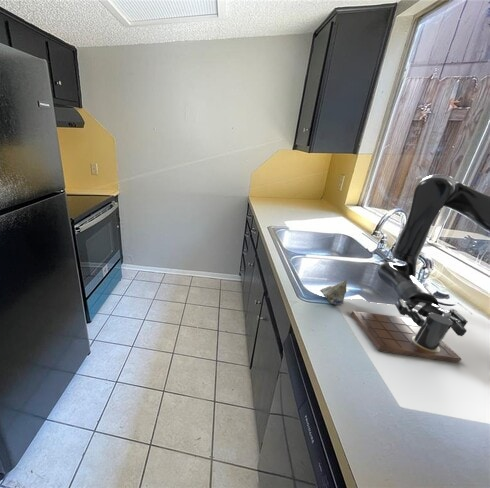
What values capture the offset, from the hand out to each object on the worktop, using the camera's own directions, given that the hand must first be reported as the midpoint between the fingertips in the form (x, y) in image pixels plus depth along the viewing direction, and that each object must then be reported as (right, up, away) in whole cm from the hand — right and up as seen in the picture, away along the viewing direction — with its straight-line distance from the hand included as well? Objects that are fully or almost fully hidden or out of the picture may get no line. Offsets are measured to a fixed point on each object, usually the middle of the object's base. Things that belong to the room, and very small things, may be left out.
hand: (441, 328), depth 69 cm
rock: (-14, +2, +25) cm, 29 cm away
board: (-3, -5, +9) cm, 11 cm away
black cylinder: (0, -6, +5) cm, 7 cm away
